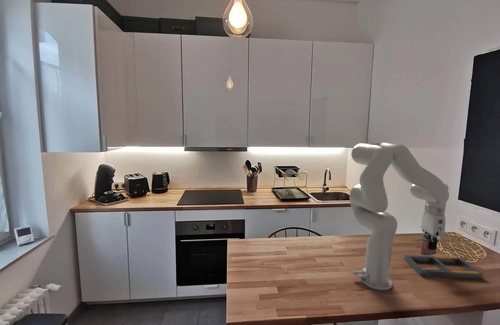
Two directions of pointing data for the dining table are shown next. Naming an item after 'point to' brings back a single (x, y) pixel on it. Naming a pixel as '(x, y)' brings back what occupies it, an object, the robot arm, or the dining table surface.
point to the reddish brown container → (426, 245)
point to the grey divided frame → (443, 267)
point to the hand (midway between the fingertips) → (428, 246)
